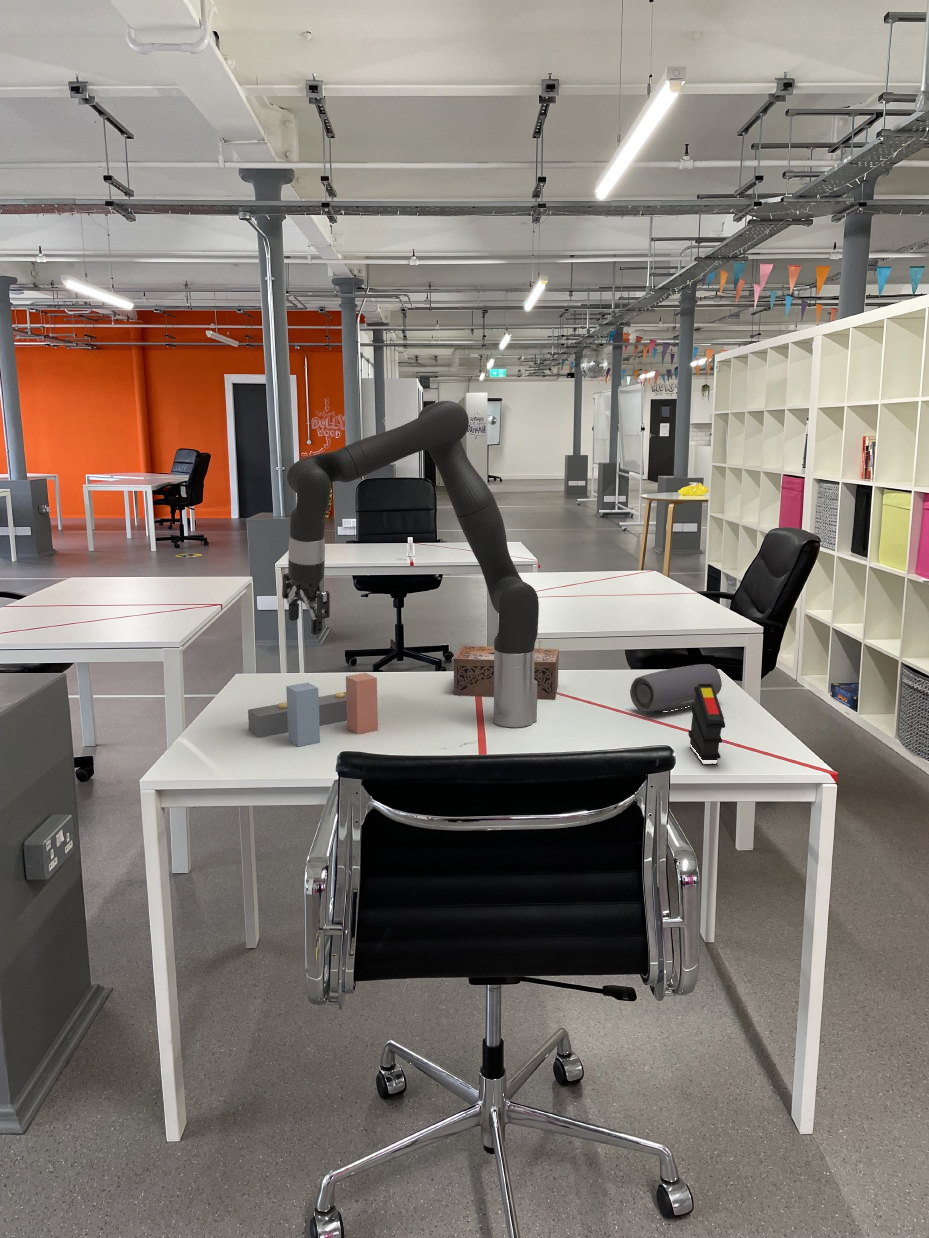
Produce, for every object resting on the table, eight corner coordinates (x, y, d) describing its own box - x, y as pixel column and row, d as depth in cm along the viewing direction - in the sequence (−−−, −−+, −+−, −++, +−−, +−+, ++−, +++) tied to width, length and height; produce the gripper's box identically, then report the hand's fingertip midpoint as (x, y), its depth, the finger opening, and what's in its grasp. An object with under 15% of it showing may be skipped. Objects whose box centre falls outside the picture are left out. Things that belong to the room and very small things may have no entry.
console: (360, 713, 213) (359, 685, 211) (401, 734, 197) (400, 705, 196) (248, 734, 197) (246, 705, 196) (283, 760, 182) (281, 728, 180)
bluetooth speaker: (693, 696, 227) (695, 658, 225) (722, 705, 219) (724, 666, 217) (627, 710, 215) (628, 670, 213) (654, 721, 207) (656, 679, 205)
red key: (366, 724, 201) (365, 672, 198) (377, 730, 197) (376, 677, 194) (347, 728, 198) (345, 676, 195) (357, 734, 194) (356, 681, 191)
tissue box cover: (453, 696, 227) (453, 658, 225) (462, 681, 241) (462, 645, 239) (555, 700, 223) (555, 662, 221) (557, 685, 237) (558, 648, 235)
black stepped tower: (702, 734, 193) (713, 682, 183) (715, 780, 182) (728, 727, 173) (684, 734, 193) (695, 682, 183) (697, 780, 182) (709, 727, 173)
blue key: (309, 735, 193) (308, 682, 190) (320, 742, 189) (318, 687, 186) (288, 740, 190) (286, 686, 188) (298, 746, 186) (296, 691, 184)
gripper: (341, 564, 185) (338, 634, 191) (302, 543, 194) (300, 611, 200) (311, 571, 180) (309, 643, 186) (272, 549, 189) (271, 618, 195)
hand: (304, 626), depth 193 cm, fingers open, 8 cm apart
